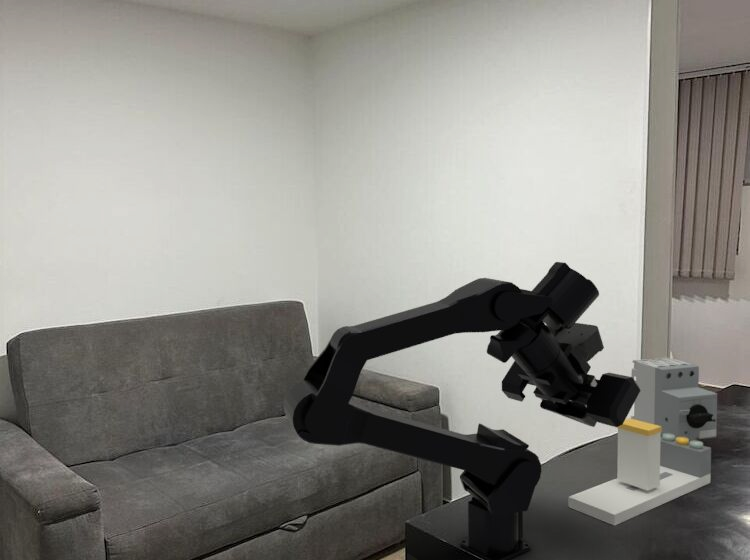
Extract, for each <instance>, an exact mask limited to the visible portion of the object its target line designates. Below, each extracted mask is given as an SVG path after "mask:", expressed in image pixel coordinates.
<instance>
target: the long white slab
mask: <svg viewBox="0 0 750 560" xmlns="http://www.w3.org/2000/svg"><path fill="white" fill-rule="evenodd" d="M711 466H712V447H711V446H705V445H704V442H703V441H700V440H697V441H696V440H692V441H690V442H689V439H688V438H686V437H676V438H675V435H674V434H670V433H664V434H663V437H661V439H660V486H658V487H655V488H653V489H650V490H648V491H647V490H644V489H641V488H638V487H635V486H632V485H630V484H627V483H624V482H621V481H618V480H617V477H616V478H614V479H611V480H609V481H606V482H603V483H601V484H599V485H596V486H593V487H590V488H587V489H585V490H582V491H580V492H578V493H575V494H572V495H570V496H568V502H567V503H568V508H570V509H573V510H575V511H578V512H580V513H582V514H585V515H587V516H590V517H592V518H595V519H597V520H599V521H603V522H605V523H607V524H609V525H612V526H617V525H619V524H622V523H623V522H626V521H628V520H630V519H633V518H635V517H637V516H639V515H641V514H644V513H646V512H648V511H650V510H653V509H656V508H657V507H659V506H662V505H663V504H666V503H668V502H671V501H673V500H675V499H677V498H680V497H681V496H684V495H686V494H688V493H690V492H693V491H696V490H698V489H699V488H702V487H704V486H706V485H709V484H711V478H712V477H711V473H712V472H711V471H712V470H711V469H712V467H711Z"/></svg>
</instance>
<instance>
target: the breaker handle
mask: <svg viewBox="0 0 750 560" xmlns="http://www.w3.org/2000/svg"><path fill="white" fill-rule="evenodd" d="M616 428H617V464H616V466H617V469H616V471H617V475H616V476H617V477H616V478H617V480H618V481H621V482H624V483H627V484H630V485H632V486H635V487H638V488H641V489H644V490H647V491H648V490H650V489H653V488H655V487H658V486H660V439H661V432H662V426H658V425H654V424H650V423H646V422H642V421H638V420H634V419H631V417H630V418H626V419H625V421H624V423H623V425H620V426H618V427H616Z"/></svg>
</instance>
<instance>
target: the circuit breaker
mask: <svg viewBox="0 0 750 560" xmlns="http://www.w3.org/2000/svg"><path fill="white" fill-rule="evenodd" d="M632 363H633V368H631V375H630V377H633V379H634V380H635V382H636V383H637V385H638V386H639V388H640V390H641V391H640V393H639V394H638V396H637V398H636V400H635V402H634V404H633V407H634V408H633V415H631V416H630V418H631V419H634V420H638V421H642V422H646V423H650V424H654V425H658V426H662V432H661V437H663V434H664V433H670V434H674V435H675V438H676V437H686V438H688V439H689V442H690V441H692V440H696V441H698V440H702V439H703V440H704V439H712V438H717V425H718V424H717V423H718V421H717V419H718V393H717V392H714V391H710V390H707V389H706V388H702V387H699V383H700V382H699V380H700V379H699V378H700V376H699V375H700V372H699V370H700V369H699V365H697V364H693V363H690V362H685V361H682V360H678V359H675V358H670V357H658V358H657V357H656V358H652V359H650V358H647V359H646V358H645V359H632Z"/></svg>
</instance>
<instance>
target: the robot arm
mask: <svg viewBox="0 0 750 560" xmlns="http://www.w3.org/2000/svg"><path fill="white" fill-rule="evenodd" d="M599 296H600V291H599V289H598V288H597V286H596V285H595V283H594V282H593V281H592V280H591V279H589V278H586V277H585V276H584V275H582V274H581V273H579V271H577V270H575V269H573V268H571V267H570V266H569V265H568V264H567V262H563V261H561V262H560V261H556V262H554V263H553V264H552V265H551V267H550V268H549V269H548V271H547V273H546V274H545V276H543V278H542V279H541V280H540V281H539V282H537V284H536V286H534V287H533V289H532V290H528V289H523V288H520V287H519V286H517V285H516V284H515V283H513V282H510V281H504V280H499V279H493V278H487V277H482V278H477V279H475V280H472V281H470V282H469V283H466V284H465V285H462V286H461V287H459V288H457V289H455V290H453V291H452V292H451V293H449V294H448V295H447V296H446V297H443V298H441V299H440V300H438V301H434V302H431V303H428V304H425V305H421V306H418V307H417V306H416V307H413V308H411V309H407V310H404V311H399V312H397V313H393V314H390V315H386V316H383V317H380V318H376V319H372V320H369V321H366V322H363V323H359V324H356V325H350V326H349V325H345V326H341V327H340V328H338V329H336V330H335V331H334V332H333V334H332V336H331V337H330V340H329V341H328V343H327V344H326V346H325V348H324V349H323V350H322V352H320V354H319V355H318V356H317V358H316V359H315V360H314V361H313V362H312V363H311V365H310V366H309V368H308V369H307V371H306V372H305V374H304V376H303V378H302V379H301V381H299V382H298V383H296V384H294V385H293V386H292V387H291V388H290V389H289V390H288V391H287V393H286V395H285V397H284V402H283V409H284V411H283V412H284V414H285V416H286V418H287V420H288V421H289V423H290V425H291V426H292V427H293V430H294V431H295V433H296V434H297V436H298V437H299V438H300V439H301V440H302V441H305V442H307V443H309V444H311V445H324V446H325V445H326V446H339V447H340V446H348V445H356V444H357V445H358V444H364V445H367V446H370V447H375V448H377V449H378V448H379V449H381V450H385V451H386V450H387V451H390V452H394V453H397V454H401V455H405V456H409V457H413V458H417V459H420V460H423V461H428V462H431V463H435V464H439V465H442V466H446V467H451V468H454V469H458V470H461V471H462V473H461V474H460V475H459V480H460V482H461V485H462V488H463V490H464V491H465V492H468V493H469V494H470V495H471V496H472V497H471V500H468V502H467V520H468V521H467V524H468V525H467V529H468V530H467V531H468V532H467V533H468V534H467V536H468V537H466V538H464V539H461V540H460V541H459V546H461V547H462V548H464V549H465V550H468V551H469V552H471V553H473V554H475V555H477V556H479V558H482V559H484V560H509V559H512V558H514V557H516V556H519V555H521V554H523V553H525V552H528V551H530V550H531V548H532V545H531V544H530V543H529V542H526V541H524V540H523V538H524V537H523V536H524V533H523V532H524V531H523V530H524V528H523V527H524V525H523V524H524V522H523V520H524V518H523V517H524V513H523V512H527V511H528V510H529V508H530V504H531V502H532V499H533V495H534V493H535V492H534V491H535V489H536V486H537V485H538V484H539V481H540V480H541V475H542V463H541V461H540V459H539V456H538V455H537V454H536V453H535V452H533V451H532V450H530V449H528V448H529V447H530V446H529V444H528V443H527V442H524V441H523V440H521V439H520V438H518V437H516V436H515V435H513V434H511V432H508V431H507V430H505V429H493V428H491V427H488V426H487V425H484V424H483V423H478V426H477V431H476V433H472V434H465V433H459V432H456V431H452V430H449V429H446V428H443V427H438V426H436V425H435V426H434V425H431V424H428V423H424V422H421V421H416V420H414V419H411V418H406V417H403V416H400V415H396V414H393V413H389V412H386V411H383V410H382V411H381V410H379V409H374V408H372V407H367V406H365V405H363V404H361V403H359V402H357V401H355V400H354V399H353V398H352V397H353V395H354V392H355V390H356V386H357V384H358V381H359V378H360V375H361V371H362V369H363V368H364V367H365V365H366V363H367V361H369V360H372V359H376V358H379V357H383V356H386V355H389V354H392V353H396V352H399V351H402V350H405V349H409V348H412V347H415V346H419V345H421V344H424V343H425V344H426V343H428V342H432V341H435V340H437V339H441V338H446V337H448V336H452V335H456V334H462V333H463V334H464V333H489V332H498V331H499V332H498V333H497V334H495V335H494V334H493V335H490V337H489V340H490V341H489V343H488V344H487V349H486V354H488V355H489V356H491V357H493V358H494V359H496V360H497V361H500V362H501V363H505V364H506V363H507V362H508V361H509V360H510V358H512V359H513V360H514V361H513V363H512V365H511V366H510V367H509V369H508V371H507V372H506V374H505V376H504V377H503V379H502V381H501V391H502V393H504V395H505V397H507V398H508V399H510V400H514V401H519V402H523V401H524V400H525V399H526V395H525V394H524V391H525V389H526V387H527V385H530V386H535V389H534V391H533V392H532V393H533V394H534V397H536V398H537V399H540V400H541V402H540V404H539V407H540V408H541V409H543V410H546V411H548V412H551V413H553V414H557V415H560V416H562V417H564V418H567V419H570V420H572V421H575V422H579V424H583V425H586V426H589V427H592V428H595V426H596V425H597V423H600V424H603V425H607V426H610V427H614V428H617V427H618V426H620V425H623V423H624V421H625V420H626V419H627V417H628V415H629V413H630V411H631V409H632V407H634V402H635V400H636V398H637V396H638V394H639V393H640V391H641V390H640V388H639V386H638V385H637V383H636V382H635V381H636V379H635V378H634V379H633V377H631V376H628V375H623V374H618V373H612V372H605V373H603V374H602V375H601V376H600V378H599V379H597V377H596V375H593V374H588V373H589V371H590V369H591V365H590V364H589V363H588V362H589V361H591V359H592V360H593V358H594V357H595V356H596V355H597V354H598V353H599V352H603V350H604V349H605V346H604V343H603V340H602V336H601V334H600V333H601V332H600V329H599V327H598V325H594V324H586V323H582V322H581V323H579V322H577V321H578V320H579V319H580V318H581V317H582V316H583V315H584V313H585V312H586V311H587V310H588V309H589V308H590V307H591V305H592V304H593V303H594V302H595V301H596V300H597V298H598V297H599Z"/></svg>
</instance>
